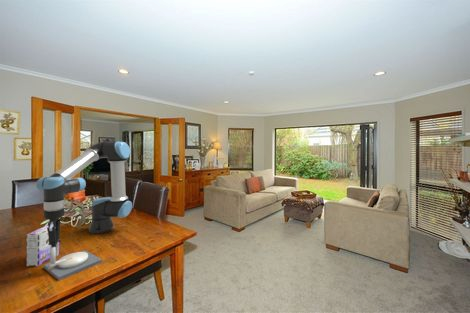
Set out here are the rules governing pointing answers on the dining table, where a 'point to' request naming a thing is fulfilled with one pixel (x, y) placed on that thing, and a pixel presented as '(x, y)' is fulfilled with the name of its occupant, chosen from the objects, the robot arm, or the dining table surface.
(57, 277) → the board
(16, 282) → the dining table surface
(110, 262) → the dining table surface
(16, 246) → the dining table surface
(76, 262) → the dial
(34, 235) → the candy box
